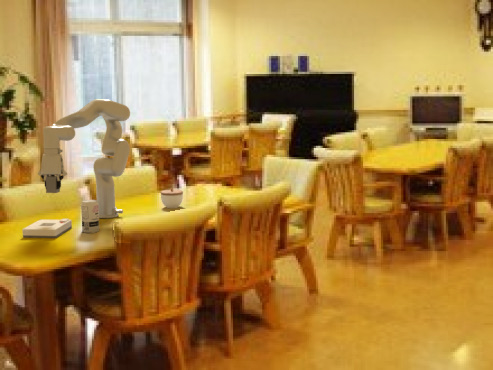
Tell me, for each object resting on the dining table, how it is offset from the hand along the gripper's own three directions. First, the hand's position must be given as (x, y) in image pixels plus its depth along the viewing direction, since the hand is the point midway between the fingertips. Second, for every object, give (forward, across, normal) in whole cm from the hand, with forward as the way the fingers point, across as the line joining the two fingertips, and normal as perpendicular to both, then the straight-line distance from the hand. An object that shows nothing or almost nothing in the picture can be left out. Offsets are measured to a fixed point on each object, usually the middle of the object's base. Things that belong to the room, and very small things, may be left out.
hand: (52, 188), depth 355 cm
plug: (+2, 0, 0) cm, 2 cm away
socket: (+21, 0, +8) cm, 22 cm away
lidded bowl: (+18, -46, -60) cm, 78 cm away
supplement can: (+20, -20, +4) cm, 29 cm away
